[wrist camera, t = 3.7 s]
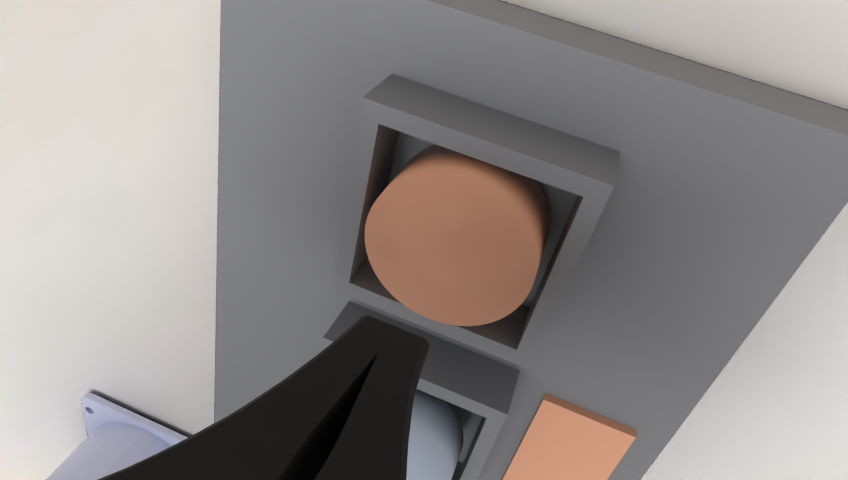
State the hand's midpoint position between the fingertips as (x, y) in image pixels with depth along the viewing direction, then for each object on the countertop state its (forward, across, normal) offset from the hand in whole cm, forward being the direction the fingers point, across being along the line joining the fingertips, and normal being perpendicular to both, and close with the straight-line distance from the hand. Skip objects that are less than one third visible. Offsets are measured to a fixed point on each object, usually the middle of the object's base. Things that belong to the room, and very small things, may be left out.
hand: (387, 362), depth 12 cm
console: (+8, 0, +8) cm, 11 cm away
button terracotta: (+6, 0, 0) cm, 6 cm away
